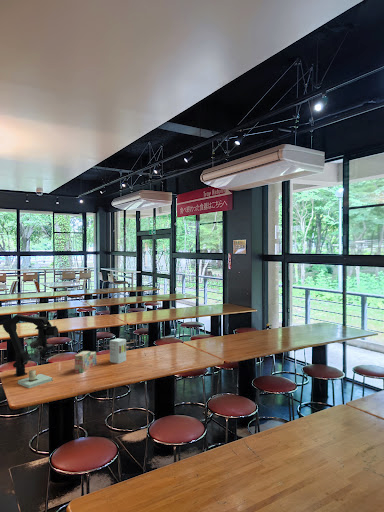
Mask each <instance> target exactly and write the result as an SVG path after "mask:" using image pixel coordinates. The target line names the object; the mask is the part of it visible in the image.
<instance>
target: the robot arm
mask: <svg viewBox="0 0 384 512" xmlns="http://www.w3.org/2000/svg"><path fill="white" fill-rule="evenodd" d="M20 322H24V323H29V324H33V325H35V326H36V327H35V328H34V330H37V337H36V340H33V341H32V342H30V343H29V347H30V349H33V350H35V349H36V350H37V351H39V354H40V357H41V359H45V357H46V354H47V352H49V351H51V350H53V349H55V345H54V344H50V343H49V342H48V339H49V337H57V336H58V334H59V329H58V327H57V325H52V324H51V322H50V321H49V319H48V317H46V316H37V317H35V316H31V315H25V314H22V313H21V314H20V313H19V314H16V315H14V316H13V317H11V318H10V319H8V320H5V321H4V322H3V323H2V328H3V330H4V331H5V332H6V333H7V334H8V336H9V338H10V341H11V342H12V346H13V348H14V351H15V362H13V364H12V367H13V369H14V368H15V373H14V374H13V376H16V377H21V376H26V375H28V373H27V372H26V365H28V363H29V361H30V359H31V358H30V354H29V351H28V350H24V347H23V346H22V342H21V340H20V338H19V334H18V332H17V329H18V327H17V324H18V323H20Z"/></svg>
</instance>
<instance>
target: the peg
mask: <svg viewBox="0 0 384 512" xmlns="http://www.w3.org/2000/svg"><path fill="white" fill-rule="evenodd" d="M36 373H37V372H36V369H31V370H30V369H29V370H28V377H29V382H33V381H36Z"/></svg>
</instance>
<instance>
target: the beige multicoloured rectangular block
mask: <svg viewBox="0 0 384 512" xmlns="http://www.w3.org/2000/svg"><path fill="white" fill-rule="evenodd" d="M97 358H98V357H97V351H90V350H82V351H80V352H79V353H78V354H75V355H74V373H76V374H77V373H78V374H79V373H80V374H84V373H85V372H87V371H88V370H90V369H91V368H92V367H94V366H95V365H97V363H98V362H97Z"/></svg>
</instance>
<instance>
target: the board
mask: <svg viewBox="0 0 384 512" xmlns="http://www.w3.org/2000/svg"><path fill="white" fill-rule="evenodd" d="M51 382H53V377H52V376H48V375H46V374H42V373H39V374H37V375H36V381H33V382H29V376H28V377H26V378H22V379H19V380H17V384H18V385H20V386H23V387H25V388H28V389H31V388H34V387H38V386H40V385H43V384H46V383H51Z"/></svg>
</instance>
